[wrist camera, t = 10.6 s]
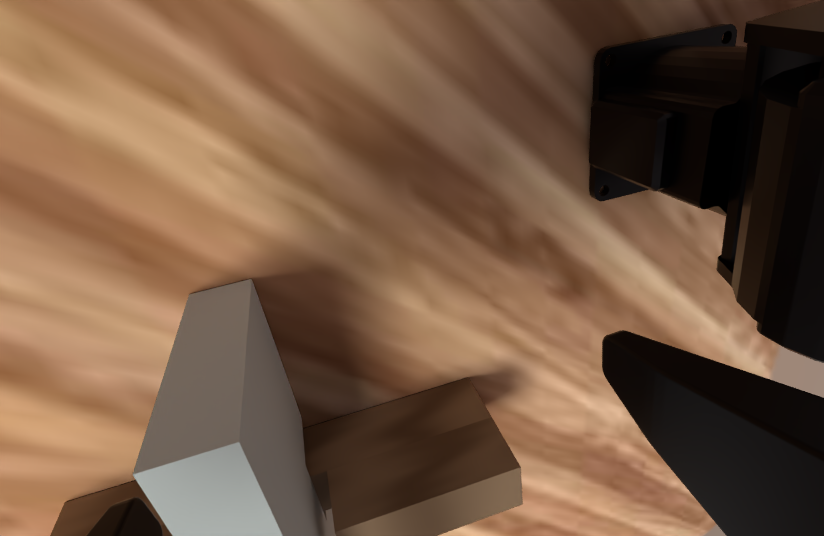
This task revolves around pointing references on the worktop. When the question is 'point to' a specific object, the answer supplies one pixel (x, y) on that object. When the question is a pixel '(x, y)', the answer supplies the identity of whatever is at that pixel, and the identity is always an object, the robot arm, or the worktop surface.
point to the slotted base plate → (385, 469)
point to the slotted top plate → (228, 429)
